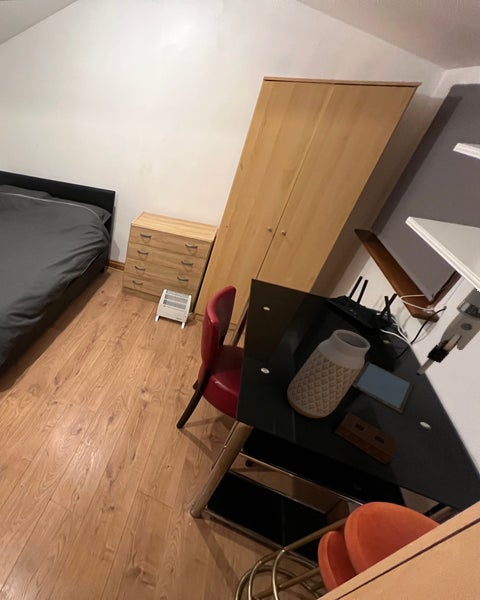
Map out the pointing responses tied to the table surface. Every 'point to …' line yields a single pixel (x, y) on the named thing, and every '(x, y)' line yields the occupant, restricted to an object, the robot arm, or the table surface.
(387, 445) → the holder
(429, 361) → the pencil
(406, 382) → the tablet
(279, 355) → the table surface
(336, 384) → the vase
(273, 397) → the table surface
